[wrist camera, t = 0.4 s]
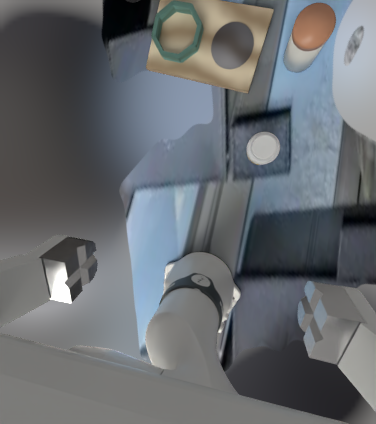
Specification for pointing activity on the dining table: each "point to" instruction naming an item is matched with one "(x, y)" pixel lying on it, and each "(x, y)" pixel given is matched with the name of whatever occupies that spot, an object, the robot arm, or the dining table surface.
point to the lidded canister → (309, 36)
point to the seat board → (209, 41)
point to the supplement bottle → (263, 148)
